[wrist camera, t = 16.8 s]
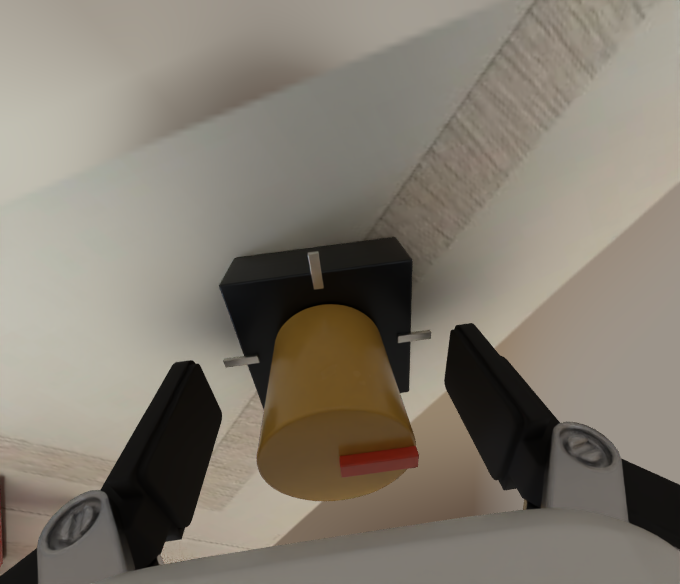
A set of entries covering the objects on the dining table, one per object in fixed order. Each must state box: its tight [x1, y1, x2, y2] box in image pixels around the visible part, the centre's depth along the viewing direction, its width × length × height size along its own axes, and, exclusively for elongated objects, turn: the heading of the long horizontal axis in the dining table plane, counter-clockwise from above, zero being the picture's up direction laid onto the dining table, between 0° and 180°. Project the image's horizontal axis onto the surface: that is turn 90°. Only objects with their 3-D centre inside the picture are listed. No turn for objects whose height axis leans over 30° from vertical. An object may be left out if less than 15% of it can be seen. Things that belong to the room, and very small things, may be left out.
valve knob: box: [257, 304, 419, 501], centre depth 10 cm, size 4×4×5 cm
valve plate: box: [219, 237, 431, 409], centre depth 13 cm, size 9×9×3 cm
